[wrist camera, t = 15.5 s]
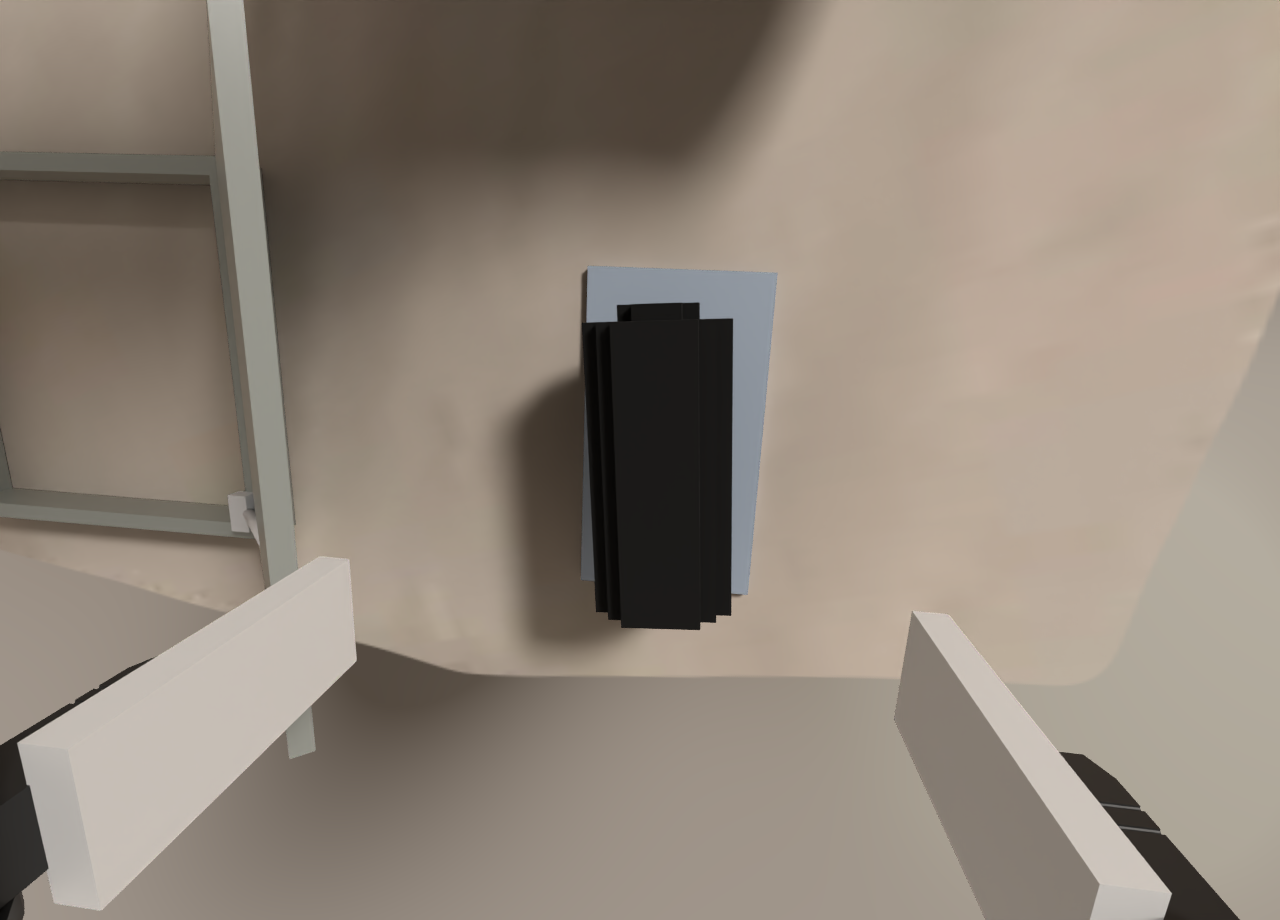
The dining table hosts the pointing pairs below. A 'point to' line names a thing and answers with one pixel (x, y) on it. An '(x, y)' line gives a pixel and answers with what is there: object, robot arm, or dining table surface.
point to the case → (247, 320)
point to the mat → (752, 333)
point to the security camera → (660, 464)
